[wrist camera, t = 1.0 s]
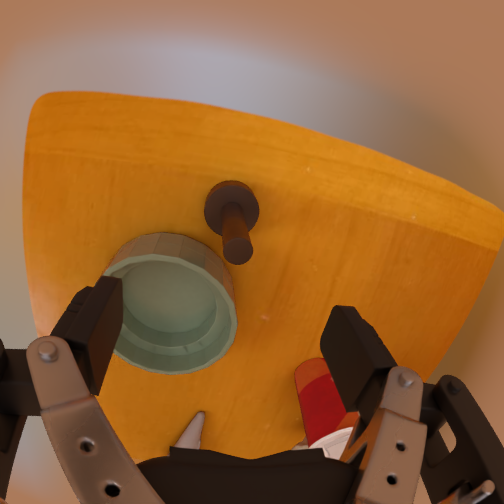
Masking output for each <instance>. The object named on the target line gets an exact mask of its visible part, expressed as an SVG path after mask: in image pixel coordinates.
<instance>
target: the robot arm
mask: <svg viewBox="0 0 504 504" xmlns="http://www.w3.org/2000/svg"><path fill="white" fill-rule="evenodd" d="M122 324H123V283H122V279H121V278H116V277H110V276H104V275H102V276H101V277H100V278H99V280H98V281H97V283H96V284H95V286H94V287H88V286H87V287H85V288H84V289H82V290H81V291H79V292H77V293H76V295H75V296H74V298H73V299H72V301H71V303H70V304H69V305H68V307H67V308H66V311H65V312H64V313H63V315H62V316H61V318H60V319H59V321H58V323H57V324H56V326H55V327H54V329H53V331H52V332H51V334H50V336H43V337H40V338H38V339H36V340H34V341H33V342H32V343H31V344H30V345H29V346H28V348H27V349H5V348H4V345H3V342H2V340H1V339H0V504H7V502H6V501H5V498H6V493H7V488H8V484H9V479H10V475H11V471H12V466H13V463H14V459H15V455H16V452H17V448H18V444H19V441H20V438H21V435H22V431H23V428H24V425H25V422H26V419H27V416H41V417H42V420H43V423H44V426H45V429H46V431H47V434H48V436H49V439H50V441H51V444H52V446H53V448H54V451H55V453H56V456H57V458H58V460H59V462H60V464H61V467H62V469H63V471H64V473H65V475H66V477H67V479H68V481H69V483H70V485H71V487H72V489H73V491H74V493H75V494H76V496H77V498H78V500H79V502H80V503H81V504H413V501H414V497H415V493H416V489H417V484H418V480H419V475H421V477H422V480H423V482H424V485H425V487H426V490H427V493H428V495H429V498H430V501H431V503H432V504H504V448H503V446H502V444H501V442H500V440H499V438H498V437H497V435H496V433H495V432H494V430H493V428H492V427H491V425H490V423H489V422H488V420H487V418H486V417H485V415H484V413H483V412H482V410H481V409H480V407H479V406H478V404H477V402H476V401H475V399H474V398H473V396H472V395H471V393H470V392H469V390H468V389H467V387H466V386H465V384H464V383H463V382H462V381H461V380H459V379H458V378H456V377H454V376H451V375H444V376H442V377H441V379H440V380H439V381H438V383H437V384H436V385H433V384H427V383H423V382H422V379H421V378H420V376H419V375H418V374H417V373H416V372H414V371H413V370H411V369H409V368H407V367H403V366H398V365H397V363H396V362H395V360H394V359H393V357H392V355H391V354H390V352H389V351H388V349H387V348H386V346H385V345H384V344H383V342H382V340H381V339H380V337H378V334H377V333H376V331H375V330H374V328H373V327H372V326H371V325H370V324H369V323H367V322H366V321H365V320H364V319H362V318H361V316H360V315H359V313H358V312H357V310H356V309H355V307H353V306H340V305H336V306H334V307H333V309H332V311H331V314H330V316H329V319H328V321H327V324H326V326H325V328H324V331H323V333H322V336H321V340H320V349H321V352H322V354H323V357H324V359H325V361H326V364H327V366H328V369H329V371H330V374H331V376H332V378H333V381H334V383H335V386H336V388H337V390H338V393H339V395H340V398H341V400H342V403H343V405H344V408H345V410H346V413H349V412H358V411H359V413H360V416H359V417H358V418H357V420H356V422H355V425H354V427H353V430H352V432H351V434H350V437H349V439H348V441H347V444H346V446H345V448H344V451H343V453H342V455H341V457H340V458H339V460H337V459H333V458H328V457H325V455H324V451H323V448H312V449H300V450H288V451H284V452H281V453H277V454H273V455H269V456H266V457H262V458H258V459H244V458H240V457H235V456H231V455H227V454H223V453H219V452H215V451H211V450H202V449H190V448H180V447H171V446H170V453H169V456H163V457H157V458H152V459H149V460H146V461H143V462H141V463H139V464H135V463H134V461H133V460H132V458H131V457H130V455H129V454H128V452H127V451H126V449H125V448H124V446H123V444H122V443H121V441H120V440H119V438H118V436H117V435H116V433H115V431H114V430H113V428H112V426H111V425H110V423H109V421H108V419H107V418H106V416H105V414H104V412H103V410H102V408H101V407H100V405H99V403H98V401H97V399H96V398H95V396H94V395H97V396H99V393H100V389H101V386H102V383H103V380H104V377H105V374H106V371H107V368H108V365H109V362H110V359H111V356H112V354H113V351H114V348H115V345H116V342H117V340H118V337H119V334H120V332H121V328H122ZM91 394H92V395H91ZM446 422H448V424H449V426H450V427H451V429H452V431H453V433H454V435H455V437H456V446H455V448H454V450H453V451H452V452H451V453H449V451H448V449H447V447H446V445H445V443H444V440H443V438H442V436H441V434H440V432H439V429H440V428H441V427H442V426H443V425H444V424H445V423H446Z"/></svg>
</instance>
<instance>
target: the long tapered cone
mask: <svg viewBox="0 0 504 504" xmlns="http://www.w3.org/2000/svg"><path fill="white" fill-rule="evenodd" d="M204 419H205V415H204V413H203V412H199V413H197V415H196V416H195V417H194V419H193V420H192V421H191V423H190V424H189V426H188V427H187V428H186V430H185V431H184V433H183V434H182V436H181V437H180V438H179V440H178V441H177V443H176V444H175V446H174V447H180V448H190V449H199V447H200V442H201V440H200V436H201V432H202V427H203V423H204ZM167 456H169V454H168V455H167Z"/></svg>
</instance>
